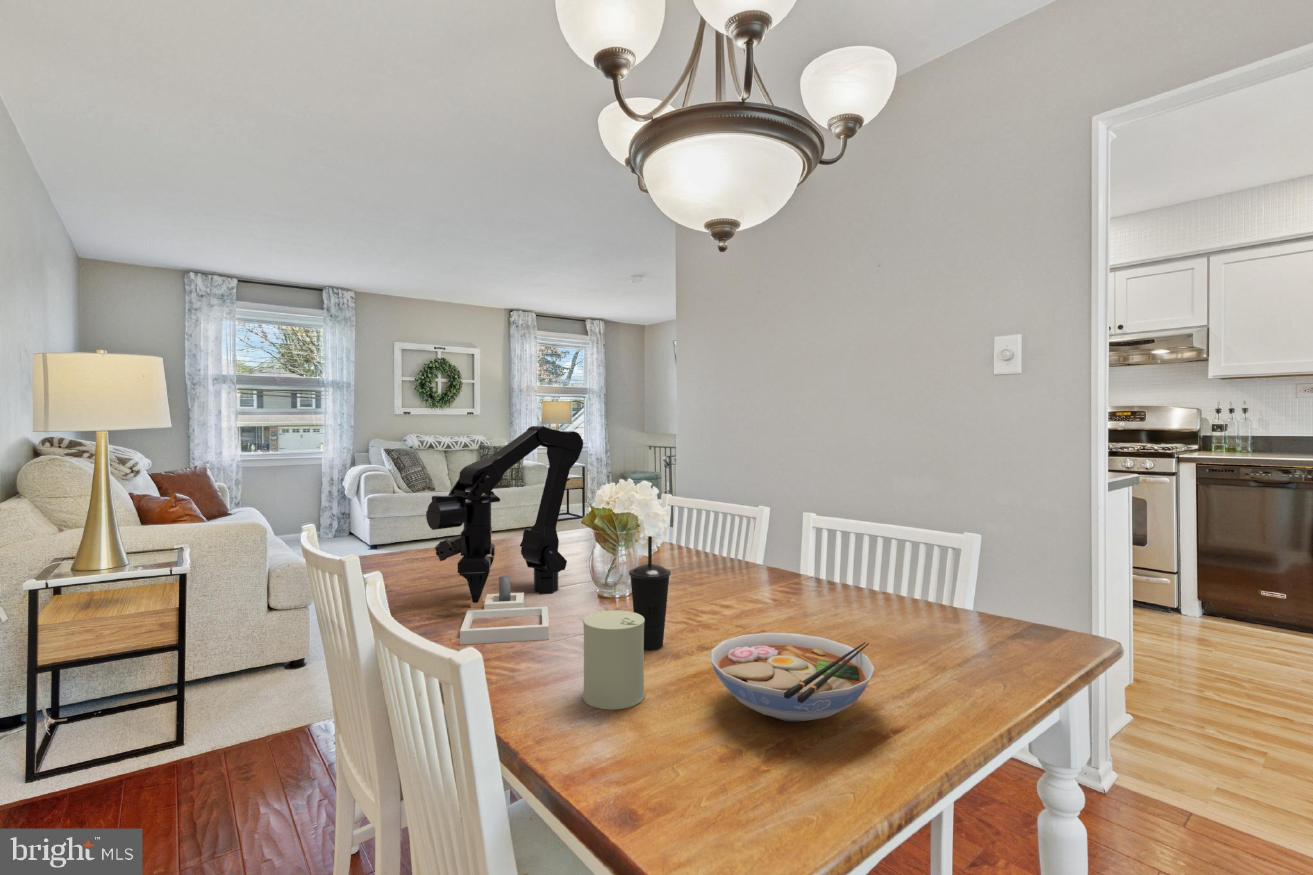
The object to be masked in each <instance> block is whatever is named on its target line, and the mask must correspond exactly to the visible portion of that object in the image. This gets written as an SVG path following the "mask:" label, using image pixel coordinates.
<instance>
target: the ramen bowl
mask: <svg viewBox="0 0 1313 875" xmlns="http://www.w3.org/2000/svg"><path fill="white" fill-rule="evenodd" d="M869 644H870V643H869V642H868V643H867V644H866V642H863V643H861V644H860V645H858V646H857V647H855V648H854V647H852V646H850V645H847V644H845V643H841V642H839V641H835V640H832V639H829V638H826V637H821V636H814V635H807V634H801V633H793V632H792V633H790V632H789V633H787V632H760V633H759V632H758V633H750V634H742V635H738V636H736V637H732V638H728V639H724V640H722V641H720V643H718V644H717V645H715V646H714V648H712V649H711V651H710V664H711V665H712V669H713V671H714V673H715V674H716V675H717V677H718V679H719V680H720V682H721V684H722V685H723V686H724V687H725V688H726V689H727V690H728V691H729V693H730V694H731V695H732V696H734V698H735V699H736V700H737V701H738V702H740V703H741V704H742V705H744V706H746V707H747V708H749V709H752V710H754V711H755V712H758V713H760V714H762V715H764V716H768V717H772V718H774V719H777V720H781V721H784V722H785V721H786V722H806V721H812V720H819V719H825V718H829V717H831V716H833V715H836V714H838V713H840V712H842V711H844V710H846V709H848V708H850V707H851V706H852V705H853V704H855V702H857V701H858V699H859V698H860V697H861V695H863V692H865V690H866V688H867V687H868V685H869V682H870V681H871V679H872V676H873V674H874V672H875V670H876V668H875V666H874V664H873V662H872V661H871V659H870V657H869V656H867V655H866V654H864V653H863V652H862V651H864V649H865V648H866V647H867V646H869Z"/></svg>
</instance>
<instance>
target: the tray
mask: <svg viewBox="0 0 1313 875" xmlns="http://www.w3.org/2000/svg"><path fill="white" fill-rule="evenodd" d="M548 610H549V608H548V606H531V607H526V608H508V609H487V610H482V609H472V610H471V609H470V610H467V611H466V613H465V616H464V620H463V622H462V624H461V627H460V629H459V645H460V646H461V645H479V644H494V643H496V644H498V643H512V642H515V643H516V642H530V641H546V640H550V627H549V626H550V625H549V624H550V622H549V611H548ZM528 616H529V617H530V616H541V624H531V625H530V624H529V625H513V626H512V625H511V626H495V627H494V626H493V627H492V626H491V627H477V628H476V627H473V628H472V627H471V626H472V623H473V620H474V619H490V618H491V619H492V618H493V619H494V618H510V617H512V618H513V617H528Z"/></svg>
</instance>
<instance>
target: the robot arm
mask: <svg viewBox="0 0 1313 875" xmlns="http://www.w3.org/2000/svg"><path fill="white" fill-rule="evenodd" d="M539 447H543V448H546V456H547V459H548V465H549V466H548V470H547V474H546V479H545V483H544V487H543V492H542V495H541V498H540V499H541V500H540V502H539V508H538V511H537V515H536V519H535V523H534V524H533V526H532V527H531V529H524V530H523V534H522V540H521V543H520V544H519V547H520V548H521V549H520V555H522V558H523V560H524V561H525V563H526V566H527V568H532V569H533V592H534V593H538V594H539V595H553V594H555V593H556V592H557V591H559V572H561V571H565V570H566V566H567V564H568V561H567V559H566V558H565V557H564V556H563V555H562V554H561V553H560V551H559V546H560V545H559V542H560V540H559V536H558V532H557V526H558V521H559V520H558V519H559V517H560V512H561V507H562V504H563V500H564V495H565V491H566V486H567V483H568V480H569V475H570V470H571V469H572V468H573V467H574V465H575V463H576V462H577V461H578V460H579V458H580V455H581V453H582V450H583V448H584V439H583V438H582V436H581V434H580V433H578V432H577V431H571V430H568V431H566V430H564V431H563V430H562V431H561V430H557V429H553V428H550V427H549V428H548V427H546V426H544V425H532V426H529V427H528V428H526V430H525V431H524V432H523V433H521V434H520V435H518V436H517V437H516V438H515V439H513V440H512V441H510V442H509V443H507V444H506V445H505V446H503V447H502V448H501V449H499V450H498V451H496V452H495V453H494V454H492V455H491V456H488V457H486V458H483V459H480V460H476V461H474V462H472V463H470V464H467V465H465V466H464V467H463V468H462V469H461V470H460V471H459V475H458V476H459V477H458V480H457V481H455V482H456V483H455V484H454V485H453V487H452V488H451V490H450V492H449V493H448V495H432V496H431V502H430V503H429V504H428V506H427V510H426V511H425V513H426V514H425V517H426V518H425V519H426V522H427V525H428V527H429V528H430V529H431V530H432V531H436V530H444V529H445V530H446V529H450V528H458V527H461V526H462V525H463V529H462V531H461V532H460V535H458V536H455V537H453V538H449V539H448V538H445V539H444V540H440V541H439V542H438V543H437V544H436V546H435V547H434V549H435V555H436V556H437V558H438V560H439V562H443V561H445V560H447V559H448V558H451V557H454V556H457V555H459V554H460V556H461V557H460V559H459V560H458V562H457V573H458V574H459V576H461V577H463V579H465V580H466V581H467V584H468V590H469V594H470V599H471V598H472V602H473V603H478V602H479V599H480V596H481V594H482V591H483V588H485V585H486V583H487V580H488V578H489V575H490V572H491V569H492V565H493V562H494V559H495V554H496V545H494V544H493V543H492V532H493V526H492V503H499V502H501V498H500V497H499V496H497V495H496V494H495V493H494V491H493V490H494V488H496V487H497V485H498V484H500V482H501V481H502V479H503V477H504V474H505V473H506V472H507V471H509V470H510V469H511V468H512V467H513V466H515V465H516V464H518V463H519V462H520V461H522V459H523V460H524V458H525V457H526V456H528V455H530V453H532V452H533V451H535V450H536V449H537V448H539ZM490 555H491V556H490Z"/></svg>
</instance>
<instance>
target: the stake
mask: <svg viewBox="0 0 1313 875" xmlns="http://www.w3.org/2000/svg"><path fill="white" fill-rule="evenodd" d="M510 593H511V576H510V575H501V576H499V577H498V594H499V602H501V601H510ZM523 608H527V597H524V606H523ZM481 610H484V607H481Z"/></svg>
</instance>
